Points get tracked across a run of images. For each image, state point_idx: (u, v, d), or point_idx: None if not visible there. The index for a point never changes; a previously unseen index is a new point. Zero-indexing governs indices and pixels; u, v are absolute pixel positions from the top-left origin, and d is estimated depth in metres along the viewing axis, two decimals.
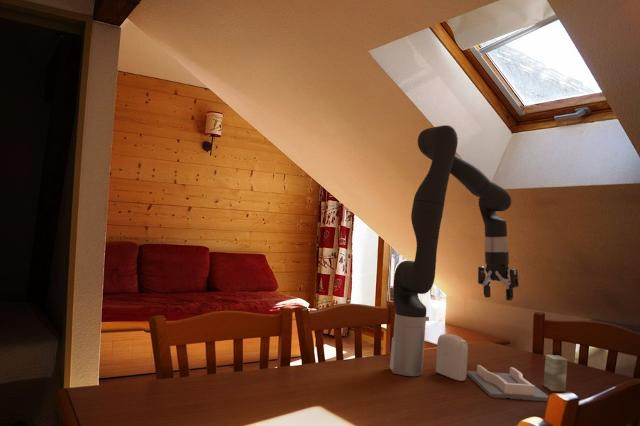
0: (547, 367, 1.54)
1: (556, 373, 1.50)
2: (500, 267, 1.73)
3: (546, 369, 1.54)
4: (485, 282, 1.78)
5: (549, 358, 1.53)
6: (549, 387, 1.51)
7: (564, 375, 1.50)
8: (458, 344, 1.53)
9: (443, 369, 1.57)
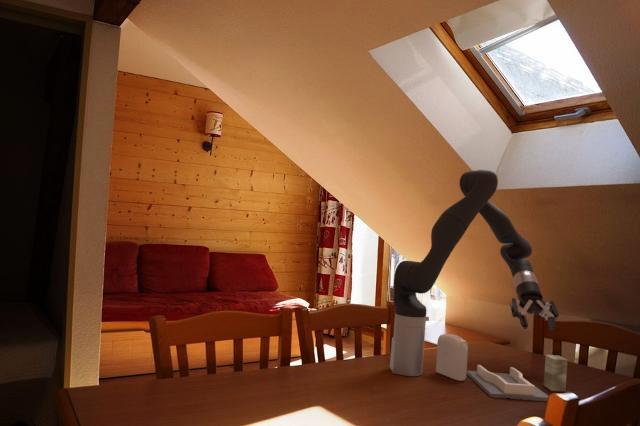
0: (547, 367, 1.54)
1: (556, 373, 1.50)
2: (538, 299, 1.72)
3: (546, 369, 1.54)
4: (524, 311, 1.68)
5: (549, 358, 1.53)
6: (549, 387, 1.51)
7: (564, 375, 1.50)
8: (458, 344, 1.53)
9: (443, 369, 1.57)
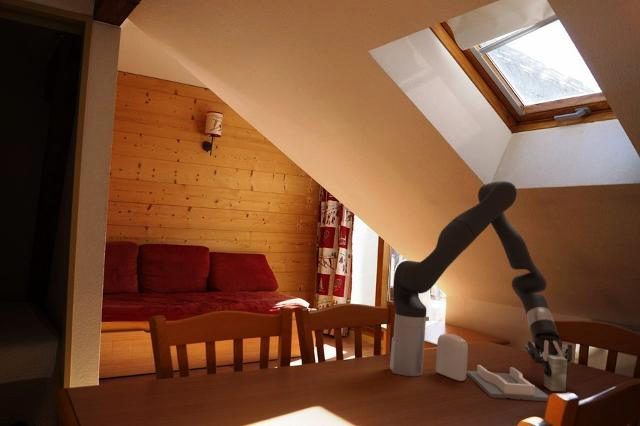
0: None
1: (556, 373, 1.50)
2: (555, 339, 1.59)
3: None
4: None
5: (549, 358, 1.53)
6: (549, 387, 1.51)
7: (564, 375, 1.50)
8: (458, 344, 1.53)
9: (443, 369, 1.57)
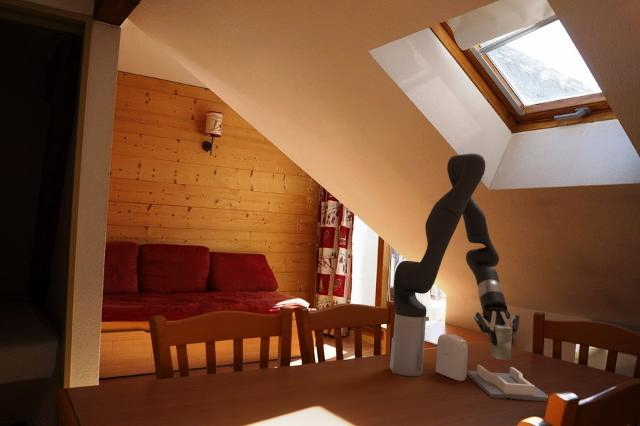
0: None
1: (501, 342, 1.54)
2: (503, 310, 1.62)
3: None
4: None
5: (495, 328, 1.56)
6: (495, 356, 1.55)
7: (509, 344, 1.54)
8: (458, 344, 1.53)
9: (443, 369, 1.57)
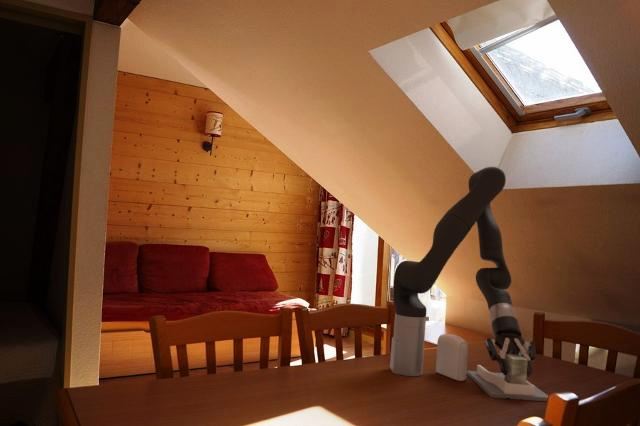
0: None
1: (516, 374, 1.42)
2: (517, 336, 1.50)
3: None
4: (504, 354, 1.46)
5: (509, 358, 1.44)
6: None
7: (524, 376, 1.42)
8: (458, 344, 1.53)
9: (443, 369, 1.57)
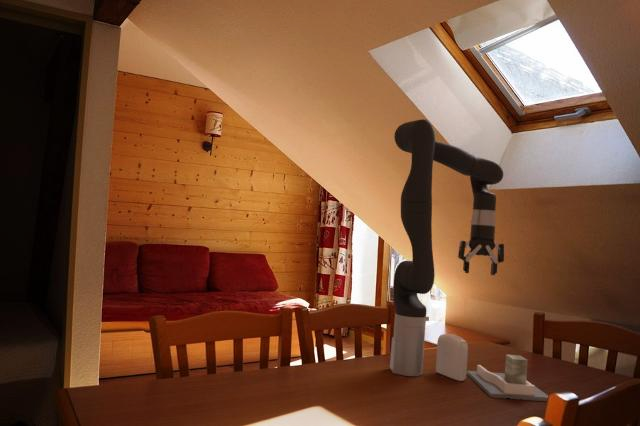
0: (507, 367, 1.45)
1: (516, 374, 1.42)
2: (489, 241, 1.70)
3: (506, 369, 1.45)
4: (469, 257, 1.70)
5: (509, 358, 1.44)
6: None
7: (524, 376, 1.42)
8: (458, 344, 1.53)
9: (443, 369, 1.57)
